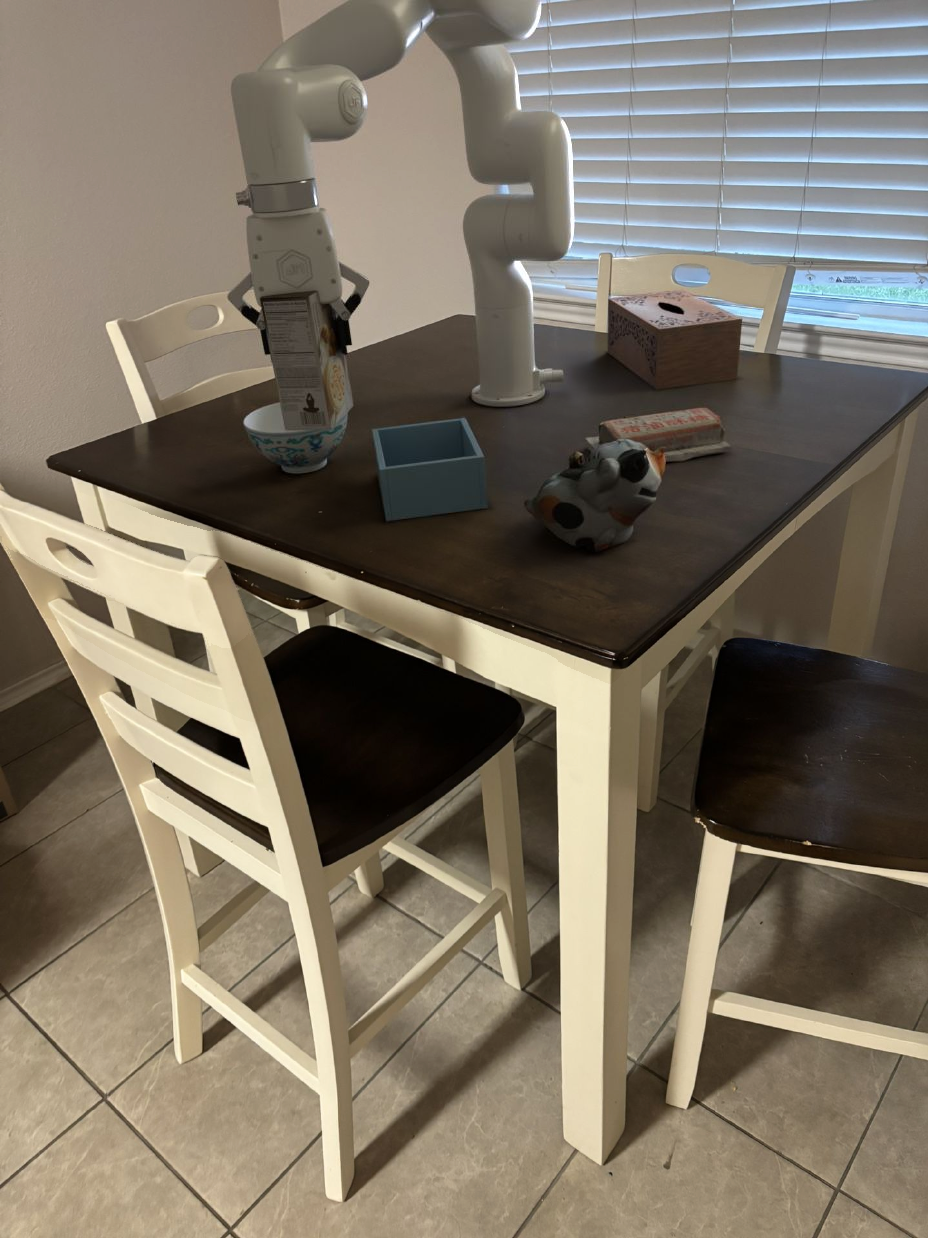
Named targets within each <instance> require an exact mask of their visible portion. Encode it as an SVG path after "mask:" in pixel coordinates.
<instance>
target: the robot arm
mask: <svg viewBox="0 0 928 1238" xmlns="http://www.w3.org/2000/svg"><path fill="white" fill-rule="evenodd" d="M541 14H542V0H347V1H345V2H344V3H342V4H340V5H338V6H336V7H335V8H333V9H331V10H330V11H328V12H327V13H325V14H323V15H322V16H321V17H320V18H318V19H316V20H315V21H313V22H311V23H310V24H308V25H306V26H305V27H303V28H301V29H300V30H298V31H297V32H295V33H294V34H293V35H291V36H289V37H288V38H287V39H286V40H284V41H283V42H282V43H281V44H280V45H278V46H277V47H276V49H274V51H273V52H272V53H271V54H270V55H269V56H268V57H267V58H266V59H265V61H263V63H262V64H260V66H259V67H258V69H257V70H256V71H249V72H248V71H247V72H243V73H239V74H237V75H236V76H234V78H233V79H232V80H231V84H230V95H231V102H232V108H233V112H234V118H235V123H236V129H237V135H238V140H239V147H240V151H241V156H242V157H241V158H242V161H243V167H244V173H245V179H246V183H247V186H246V187H245V189H244V190H242V191H239V192H238V191H237V192H235V198H236V203H237V206H244V207H248V209H250V210H251V212H252V214H249V215H248V216H246V221H245V222H246V227H245V228H246V246H247V253H248V254H247V255H248V260H249V261H248V262H249V267H250V271H249V273H248V274H246V275H245V276H244V277H243V279H241V280H239V282H238V283H237V284H236V285H235V286H233V288H232V289H231V290H230V291H229V292H228V294H227V297H226V298H227V300H228V301H229V302H230V304H231V305H232V306H233V307H234V308H235V309H236V310H237V311H239V313H240V314H241V315H242V317H244V318H245V319H246V320H248V321H249V322H250V323H252V324H253V325H255V327H256V328H257V329H258V330H259V331H260V337H261V342H262V347H263V353H264V355H265V356H268V355H269V356H270V361H271V362H270V363H272V359H271V354H270V349H269V343H268V338H267V333H266V328H265V323H264V318H263V313H262V307H261V302H260V297H262V296H269V295H276V294H285V293H293V292H305V291H318V293H319V297H320V302H321V304H330V305H331V306H332V307H333V309H334V310H335V311H336V312H337V314H338V318H337V325H338V331H339V338H340V345H341V352H342V354H344V355H346V356H347V355H349V354H348V347H349V346H353V340H352V333H351V327H350V319H351V316H352V315H353V313H355V311H356V310H357V308H359V306H360V304H361V302H362V300H363V298H364V296H365V295H366V292H367V290H368V288H369V286H370V279H369V278H368V277H367V276H365V275H364V274H362V273H360V272H358V271H356V270H355V269H354V268H352V267H350V266H347V265H346V264H345V263H342V262H340V261H339V256H338V250H337V246H336V241H335V240H336V239H335V236H334V231H333V227H332V224H331V221H330V218H329V214H328V211H327V210H326V208H324V207H320V203H319V196H318V195H319V194H318V187H317V182H316V176H315V167H314V160H313V153H312V148H311V147H312V146H311V143H330V142H339V141H344V140H347V139H349V138H351V137H353V136H354V135H356V134H357V133H358V132H359V130H361V128H362V127H363V125H364V123H365V121H366V118H367V114H368V105H369V104H368V102H369V101H368V96H367V92H366V89H365V87H364V85H363V83H362V82H364V81H367V80H370V79H373V78H375V77H377V76H380V75H381V74H384V73H386V72H388V71H390V70H392V69H394V68H395V67H397V66H398V65H399V64H400V63H401V62H402V61H403V59H404V58H405V57H406V56H407V54H408V53H409V52H410V50H411V49H412V48H413V47H414V45H415V44H416V43H417V41H419V39H420V38H421V37H422V35H423V34H424V32H425V33H426V35H427V36H428V38H429V39H430V40H431V42H433V43H434V45H435V46H436V47H437V48H438V49H439V50H440V51H441V52H442V54H443V55H444V56H445V58H446V59H447V61H448V62H449V64H450V65H451V67H452V69H453V71H454V73H455V76H456V78H457V82H458V85H459V90H460V91H459V93H460V99H461V110H462V120H463V121H462V123H463V132H464V133H463V134H464V144H465V154H466V161H467V167H468V170H469V173H470V176H471V177H472V178H473V180H474V181H476V182H477V183H479V184H483V185H487V186H488V185H489V186H517V185H518V186H527V185H528V186H529V185H530V186H531V189H532V192H533V193H493V194H485V195H483V196H480V197H478V198H476V199H474V200H473V201H472V202H471V203H469V205H468V206H467V207H466V209H465V212H464V214H463V219H462V233H463V240H464V243H465V244H464V245H465V248H466V251H467V255H468V259H469V265H470V270H471V278H472V289H473V300H474V301H473V303H474V316H475V330H476V331H475V332H476V345H477V348H476V349H477V362H478V375H479V384H478V385H476V386H475V387H474V388H472V389H471V392H470V393H471V399H472V400H473V401H474V402H475V403H476V404H478V405H482V406H487V407H496V408H498V407H499V408H503V407H505V408H506V407H507V408H509V407H517V406H524V405H527V404H531V403H534V402H537V401H539V400H541V399H542V398H543V397H544V396H545V394H546V389H545V388H546V387H545V385H546V383H550V382H551V383H557V382H558V383H559V382H563V381H564V372H563V369H553V368H550V367H549V368H544V369H539V368H538V367H537V365H536V360H535V357H536V355H535V331H534V329H535V328H534V327H535V326H534V298H533V297H534V294H533V286H532V282H531V279H530V276H529V274H528V273H527V270H525V269H526V268H525V267H524V266H523V264H522V262H543V263H544V262H556V261H559V260H561V259H563V258H564V257H565V256H566V255H567V254H568V253H569V251H570V249H571V247H572V244H573V240H574V233H575V205H574V204H575V202H574V200H575V199H574V168H573V167H574V166H573V164H574V163H573V147H572V139H571V134H570V131H569V129H568V126H567V124H566V122H565V121H564V119H563V118H562V116H561V115H559V114H557V113H556V112H553V111H549V110H533V111H532V110H531V111H523V109H522V106H521V97H520V87H519V76H518V71H517V68H516V65H515V62H514V59H513V58H512V57H511V54H510V53H509V50H508V49H507V48H506V47H505V45H509V44H510V45H511V44H517V43H520V42H523V41H525V40H527V39H528V38H529V37H531V36H532V35H533V34H534V32H535V31H536V29H537V26H538V24H539V21H540V19H541ZM342 278H343V279H345V280H347V281H348V282H350V283H352V284H354V288H353V291H352V293H351V294H350V295H349V297H347V299H346V300H344V299H342V297H343V296H342V295H343V279H342ZM252 288H253V293H254V297H255V300H256V301H255V302H256V303H257V305H258V306H259V307H260V311H258V310H257V309H256V308H254V307H253V306H252V305H250V304H249V303H248V302H247V300H246V299H245V298H244V296H245V295H246V293H248V292H249V291H250V290H251V289H252Z"/></svg>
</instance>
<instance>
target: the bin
mask: <svg viewBox="0 0 928 1238" xmlns="http://www.w3.org/2000/svg"><path fill="white" fill-rule="evenodd" d="M371 435H372V441H373V450H374V457H375V463H376V473H377V479H378V483H379V490H380V495H381V500H382V506H383V511H384V517H385V521H386V522H392V521H399V520H406V519H407V520H408V519H414V518H421V517H422V518H423V517H429V516H436V515H444V514H451V513H452V514H453V513H458V512H467V511H474V510H476V511H477V510H481V509H483V510H484V509H488V496H487V495H488V494H487V481H486V466H485V465H486V464H485V456H484V454H483V451H482V449H481V448H480V445H479V444H478V441H477V439H476V437H475V435H474V433H473V431H472V429H471V426H470V424H469V423H468V421H467V419H466V417H461V418H453V419H452V418H451V419H444V420H443V419H442V420H436V421H428V422H421V423H411V424H403V425H396V426H388V427H387V426H385V427H379V428H372V429H371Z"/></svg>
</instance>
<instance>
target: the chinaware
mask: <svg viewBox="0 0 928 1238" xmlns="http://www.w3.org/2000/svg"><path fill="white" fill-rule="evenodd" d="M348 415H349V411H348V412H347V413H346V414H345V416H344V417H343V418H342V419H341V420H340V421H339V422H338V423H337V424H336V425H335V426H334V427H333V428H332V430H285V426H284V421H283V416H282V410H281V406H280V401H279V402H275V403H272V404H268V405H265V406H262V407H260V408H257V409H255V410H253V411H252V412H249V414H247V415H245V417H244V419H243V421H242V425H243V427H244V430H245V432H246V434H247V436H248V439H250V441H251V443H252V445H253V446H254V447H255V449H256V450H257V451H259V453H260V454H261V455H263V456H264V457H265V458H267V459H268V460H270V461H271V462H273V463H275V464H277V465H279V466H281V469H282V471H284V472H285V473H289V474H306V473H312V472H315V471H318V470H320V469H322V468H324V467H325V466H326V465H327V464H328V458H329V457H330V456H332V455H333V453H334V452H335V451H336V450H337V449H338V448H339V446H340V444H341V442H342V441H343V439H344V435H345V433H346V428H347V424H348Z"/></svg>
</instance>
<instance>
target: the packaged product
mask: <svg viewBox="0 0 928 1238" xmlns="http://www.w3.org/2000/svg"><path fill="white" fill-rule="evenodd" d="M725 433H726V431H725V428H724V427H723V423H722V421H721V419H720V416H719V415H717V414H716V413H714V412H713V411H712V410H710V409H709V408H707V407H695V408H688V409H681V410H680V409H679V410H674V411H666V412H661V413H660V412H659V413H652V414H646V415H645V414H644V415H639V416H638V415H637V416H633V417H632V416H631V417H625V418H624V417H623V418H617V419H611V420H605V421H601V422H600V423H599V424H598V435H597V436H588V437H585V444H586V449H588V451H590V453H591V452H592V451H593V450H595V449H597V447H599V446H600V445H602V444H605V443H610V442H613V441H617V440H618V439H628V440H632V441H634V442H639V443H642V444H643V445H645V446H646V447H647V448H648V449H649V450H651V451H652V452H654V451H655V450H657V449H658V448H660V447H666V452H665V453H664V456H665V462H684V461H688V460H689V459H692V458H698V457H703V456H709V455H710V456H711V455H716V454H717V455H718V454H722V453H728V452H730V451H731V449H732V445H731V444H729V443H728V442H727V441H726V440H724V438H725Z"/></svg>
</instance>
